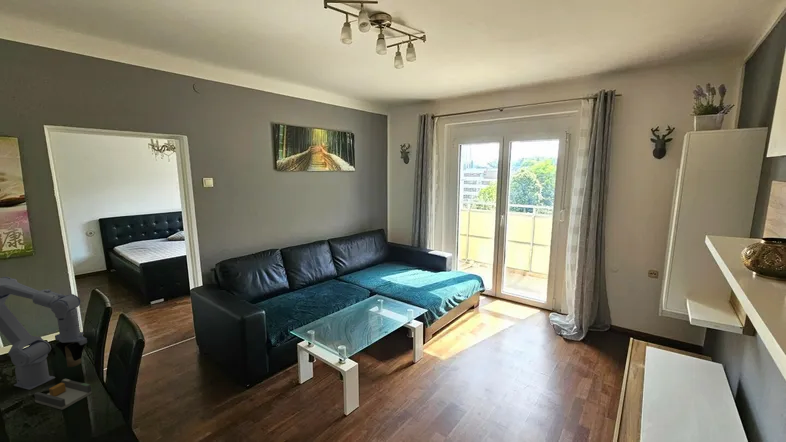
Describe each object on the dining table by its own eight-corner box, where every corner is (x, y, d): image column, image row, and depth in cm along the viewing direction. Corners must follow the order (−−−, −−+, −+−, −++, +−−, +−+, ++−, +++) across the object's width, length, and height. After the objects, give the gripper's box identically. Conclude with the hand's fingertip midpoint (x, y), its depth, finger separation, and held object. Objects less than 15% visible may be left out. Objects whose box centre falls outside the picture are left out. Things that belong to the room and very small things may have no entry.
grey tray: (35, 402, 118) (33, 393, 118) (65, 387, 127) (64, 378, 127) (62, 409, 115) (60, 400, 114) (91, 393, 123) (90, 384, 123)
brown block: (64, 366, 129) (62, 347, 128) (76, 360, 133) (74, 342, 132) (72, 367, 128) (69, 348, 127) (83, 362, 132) (81, 343, 131)
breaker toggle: (50, 396, 120) (48, 388, 120) (62, 389, 124) (61, 382, 123) (53, 397, 120) (52, 389, 119) (65, 390, 123) (64, 383, 123)
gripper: (94, 324, 130) (98, 355, 132) (68, 319, 134) (72, 350, 136) (73, 332, 123) (77, 365, 125) (46, 327, 127) (51, 359, 129)
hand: (73, 358), depth 130 cm, fingers closed on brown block, 4 cm apart
